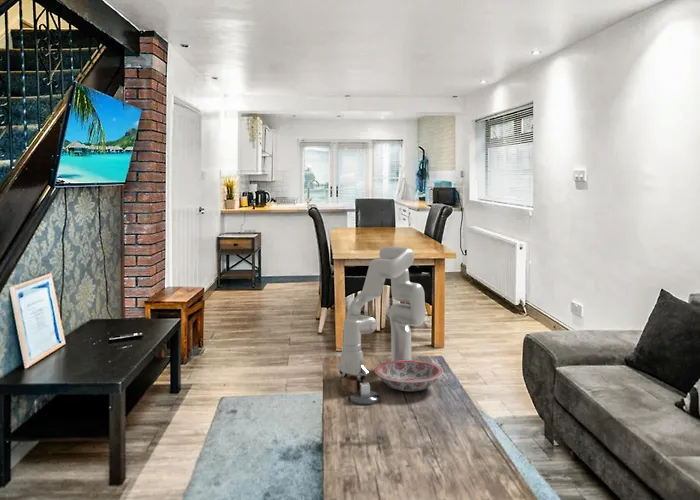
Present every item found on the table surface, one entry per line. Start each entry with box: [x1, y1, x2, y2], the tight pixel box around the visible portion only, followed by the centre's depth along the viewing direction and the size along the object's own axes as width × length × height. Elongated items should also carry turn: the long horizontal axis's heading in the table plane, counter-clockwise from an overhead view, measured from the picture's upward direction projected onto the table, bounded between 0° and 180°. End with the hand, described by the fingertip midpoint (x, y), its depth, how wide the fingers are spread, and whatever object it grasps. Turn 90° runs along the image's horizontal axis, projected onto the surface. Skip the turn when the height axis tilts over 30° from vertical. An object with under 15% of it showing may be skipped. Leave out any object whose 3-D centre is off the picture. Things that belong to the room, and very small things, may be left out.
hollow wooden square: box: [341, 375, 365, 394], centre depth 243 cm, size 7×7×5 cm
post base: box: [349, 382, 381, 406], centre depth 231 cm, size 12×12×6 cm
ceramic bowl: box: [374, 359, 444, 392], centre depth 244 cm, size 29×29×8 cm
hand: (352, 387), depth 243 cm, fingers closed on hollow wooden square, 7 cm apart
